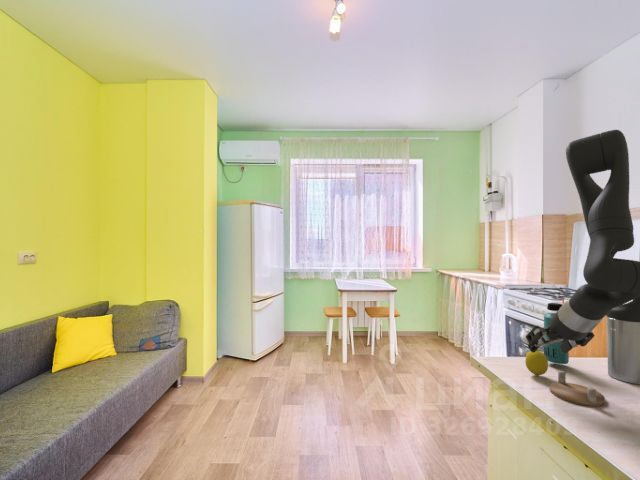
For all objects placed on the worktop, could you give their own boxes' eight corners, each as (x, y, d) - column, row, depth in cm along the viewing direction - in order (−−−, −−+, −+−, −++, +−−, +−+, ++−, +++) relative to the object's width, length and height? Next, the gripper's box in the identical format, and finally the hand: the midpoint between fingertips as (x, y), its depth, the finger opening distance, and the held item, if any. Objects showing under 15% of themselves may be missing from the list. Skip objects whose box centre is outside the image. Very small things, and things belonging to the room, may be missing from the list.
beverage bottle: (570, 365, 100) (568, 303, 101) (568, 371, 96) (566, 306, 96) (545, 360, 105) (544, 300, 105) (542, 365, 100) (541, 303, 101)
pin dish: (551, 382, 88) (550, 368, 88) (603, 393, 81) (603, 378, 81) (548, 397, 79) (548, 381, 79) (606, 411, 72) (606, 394, 72)
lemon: (552, 381, 89) (551, 352, 89) (530, 379, 90) (530, 351, 90) (542, 373, 94) (542, 346, 94) (522, 371, 95) (521, 345, 95)
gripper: (598, 305, 78) (566, 337, 90) (538, 305, 79) (515, 337, 91) (617, 332, 73) (580, 363, 84) (553, 331, 74) (526, 362, 85)
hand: (546, 349), depth 87 cm, fingers open, 8 cm apart
